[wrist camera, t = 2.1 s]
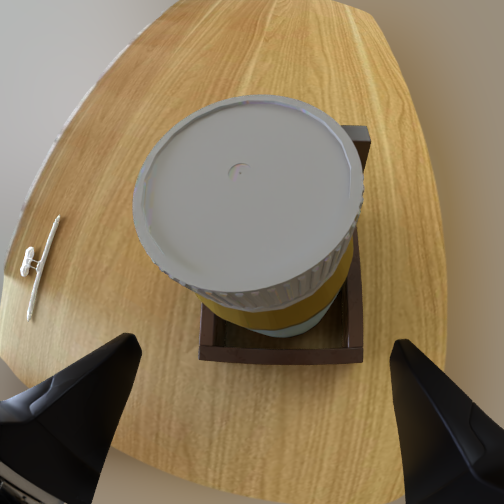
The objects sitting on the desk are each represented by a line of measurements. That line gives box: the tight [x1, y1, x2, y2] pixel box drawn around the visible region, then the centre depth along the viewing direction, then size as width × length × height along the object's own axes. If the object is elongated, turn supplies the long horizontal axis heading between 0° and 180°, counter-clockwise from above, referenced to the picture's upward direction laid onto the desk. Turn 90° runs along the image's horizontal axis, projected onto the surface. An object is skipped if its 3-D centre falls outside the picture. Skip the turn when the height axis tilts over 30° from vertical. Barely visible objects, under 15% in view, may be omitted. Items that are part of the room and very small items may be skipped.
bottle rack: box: [198, 125, 371, 365], centre depth 16 cm, size 12×11×10 cm
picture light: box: [20, 215, 60, 322], centre depth 26 cm, size 14×4×2 cm, turn 167°
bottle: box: [133, 95, 364, 338], centre depth 14 cm, size 7×7×15 cm
